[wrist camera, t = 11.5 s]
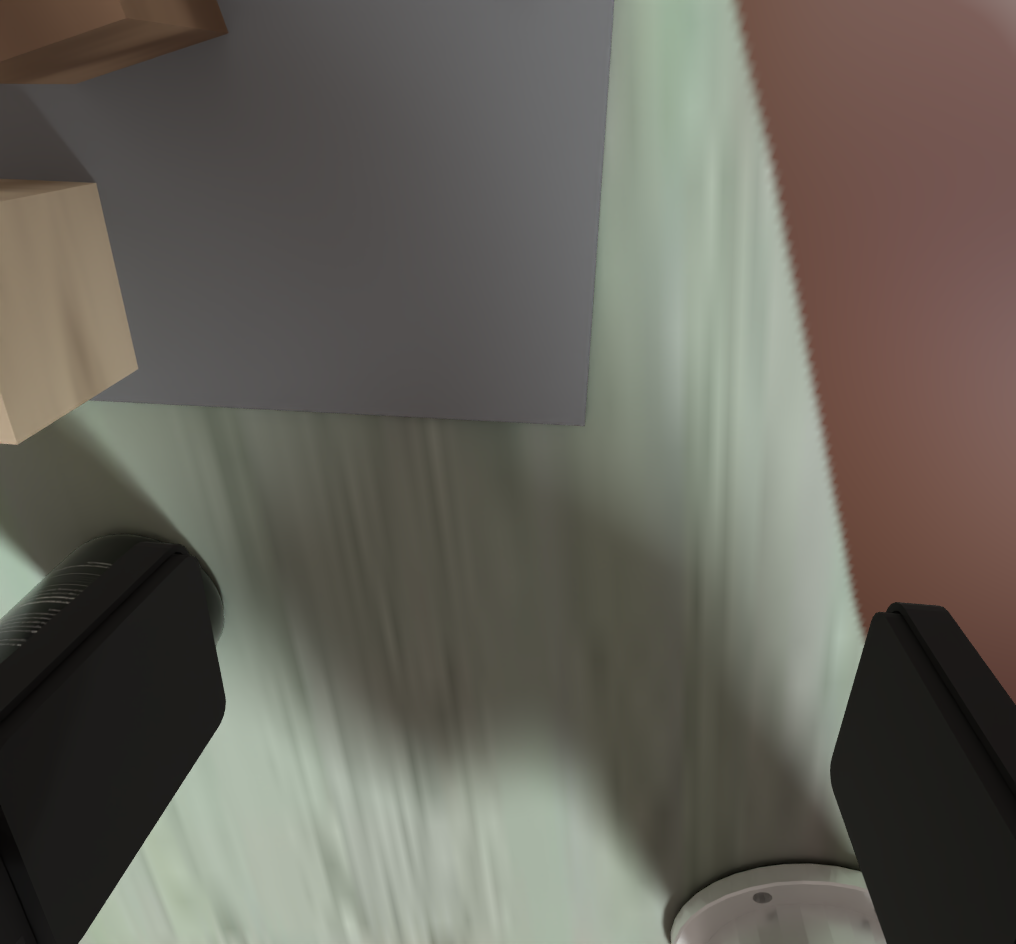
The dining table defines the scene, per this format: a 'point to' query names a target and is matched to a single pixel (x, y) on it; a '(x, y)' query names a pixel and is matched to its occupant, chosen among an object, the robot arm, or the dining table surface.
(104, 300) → the maple block
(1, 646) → the supplement bottle
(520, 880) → the dining table surface
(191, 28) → the walnut block
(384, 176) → the mat
